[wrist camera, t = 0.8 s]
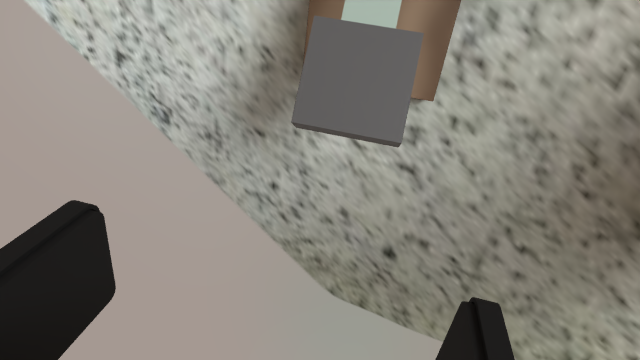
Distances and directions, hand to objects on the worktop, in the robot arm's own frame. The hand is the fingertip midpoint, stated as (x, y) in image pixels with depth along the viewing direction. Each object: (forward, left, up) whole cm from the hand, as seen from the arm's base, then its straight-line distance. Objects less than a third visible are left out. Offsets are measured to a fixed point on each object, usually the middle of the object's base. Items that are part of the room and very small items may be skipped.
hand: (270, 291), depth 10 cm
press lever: (0, -7, -19) cm, 20 cm away
